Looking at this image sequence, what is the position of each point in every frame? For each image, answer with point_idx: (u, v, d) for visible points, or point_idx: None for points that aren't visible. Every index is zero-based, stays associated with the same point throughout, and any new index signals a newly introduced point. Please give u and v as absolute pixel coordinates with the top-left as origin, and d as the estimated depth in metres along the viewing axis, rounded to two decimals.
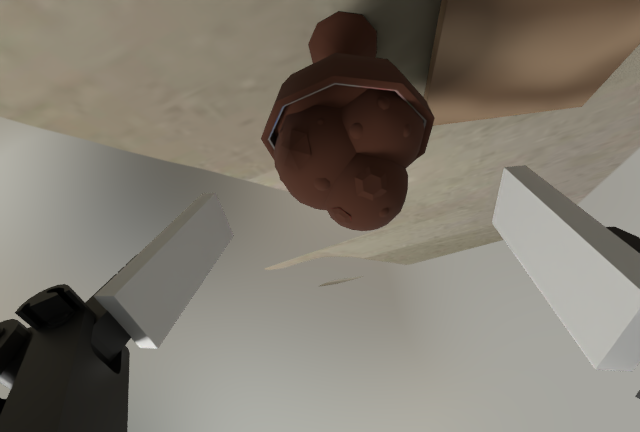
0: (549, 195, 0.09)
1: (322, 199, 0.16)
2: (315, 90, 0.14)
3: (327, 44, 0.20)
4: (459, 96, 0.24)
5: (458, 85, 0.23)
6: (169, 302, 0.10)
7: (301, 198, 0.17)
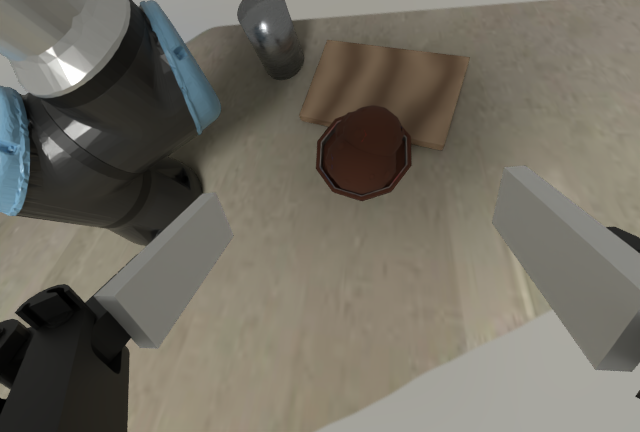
0: (549, 195, 0.09)
1: (352, 148, 0.26)
2: (320, 151, 0.31)
3: None
4: (423, 123, 0.37)
5: (413, 123, 0.38)
6: (169, 302, 0.10)
7: (351, 164, 0.26)
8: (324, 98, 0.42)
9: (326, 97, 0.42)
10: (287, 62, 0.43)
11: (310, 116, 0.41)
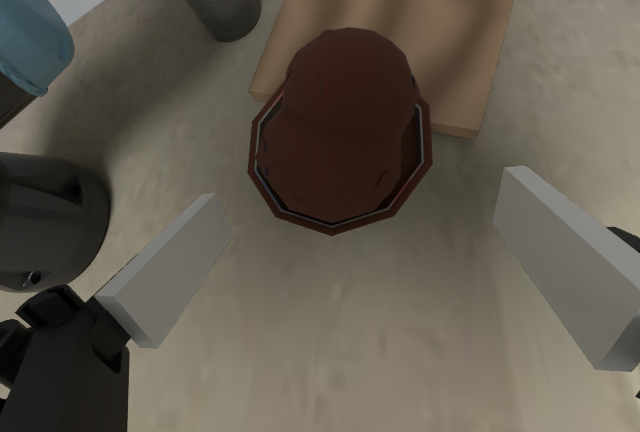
0: (549, 195, 0.09)
1: (301, 126, 0.11)
2: (257, 139, 0.17)
3: None
4: (442, 94, 0.23)
5: (426, 96, 0.23)
6: (169, 302, 0.10)
7: (300, 162, 0.12)
8: (286, 63, 0.27)
9: (289, 62, 0.27)
10: (231, 11, 0.28)
11: (265, 91, 0.27)
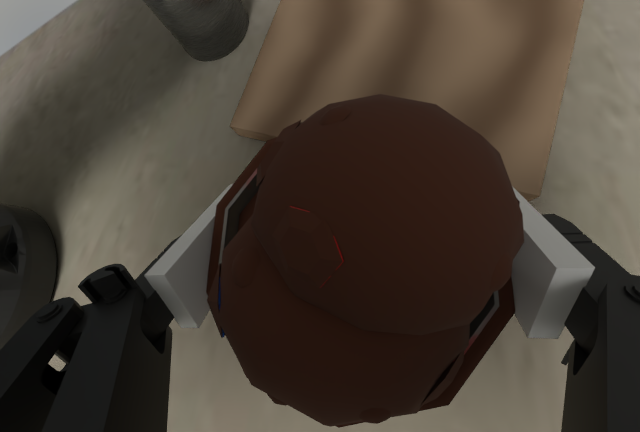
0: None
1: (281, 296, 0.06)
2: (222, 235, 0.11)
3: None
4: None
5: None
6: None
7: (280, 366, 0.06)
8: (278, 92, 0.21)
9: (282, 90, 0.21)
10: (209, 24, 0.22)
11: (250, 127, 0.21)
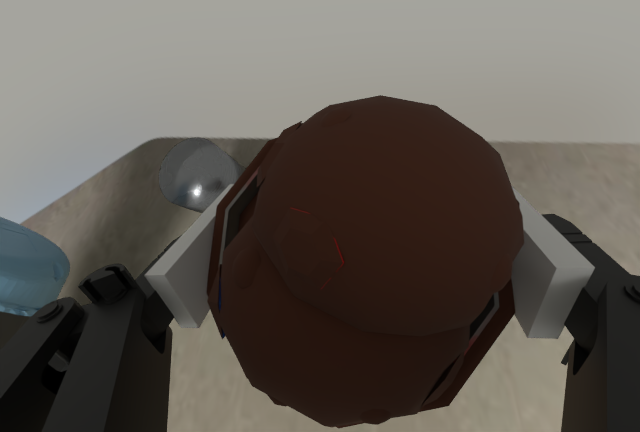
0: None
1: (282, 298, 0.06)
2: (222, 236, 0.11)
3: None
4: None
5: None
6: None
7: (280, 367, 0.06)
8: None
9: None
10: None
11: None
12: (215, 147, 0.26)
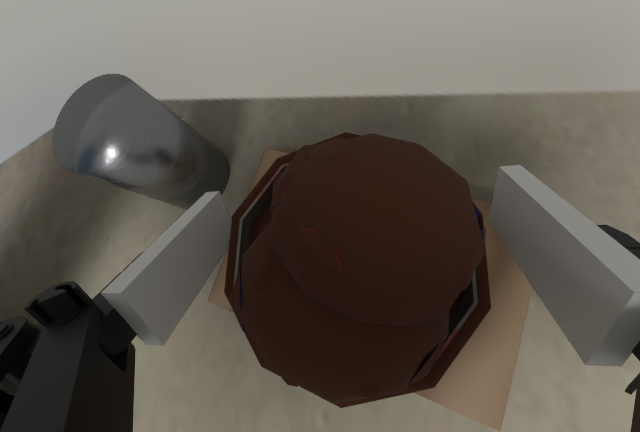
0: (542, 194, 0.09)
1: (294, 296, 0.07)
2: (238, 243, 0.12)
3: None
4: None
5: None
6: (174, 299, 0.10)
7: (293, 352, 0.07)
8: None
9: None
10: (188, 195, 0.23)
11: (227, 306, 0.21)
12: (134, 86, 0.17)
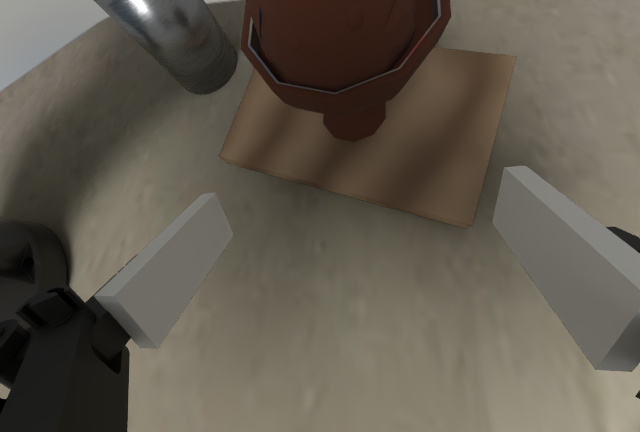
0: (549, 195, 0.09)
1: None
2: None
3: None
4: (431, 178, 0.20)
5: (412, 178, 0.20)
6: (169, 302, 0.10)
7: None
8: (261, 127, 0.24)
9: (264, 126, 0.24)
10: (201, 66, 0.25)
11: (236, 158, 0.24)
12: None
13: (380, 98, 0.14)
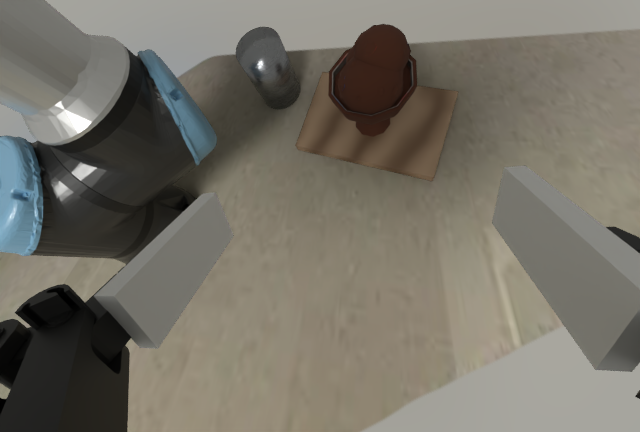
0: (549, 195, 0.09)
1: (363, 63, 0.29)
2: (332, 80, 0.34)
3: None
4: (414, 154, 0.39)
5: (404, 155, 0.39)
6: (169, 302, 0.10)
7: (362, 78, 0.29)
8: (320, 129, 0.43)
9: (321, 128, 0.43)
10: (284, 94, 0.44)
11: (306, 146, 0.43)
12: (274, 31, 0.39)
13: (389, 117, 0.33)
